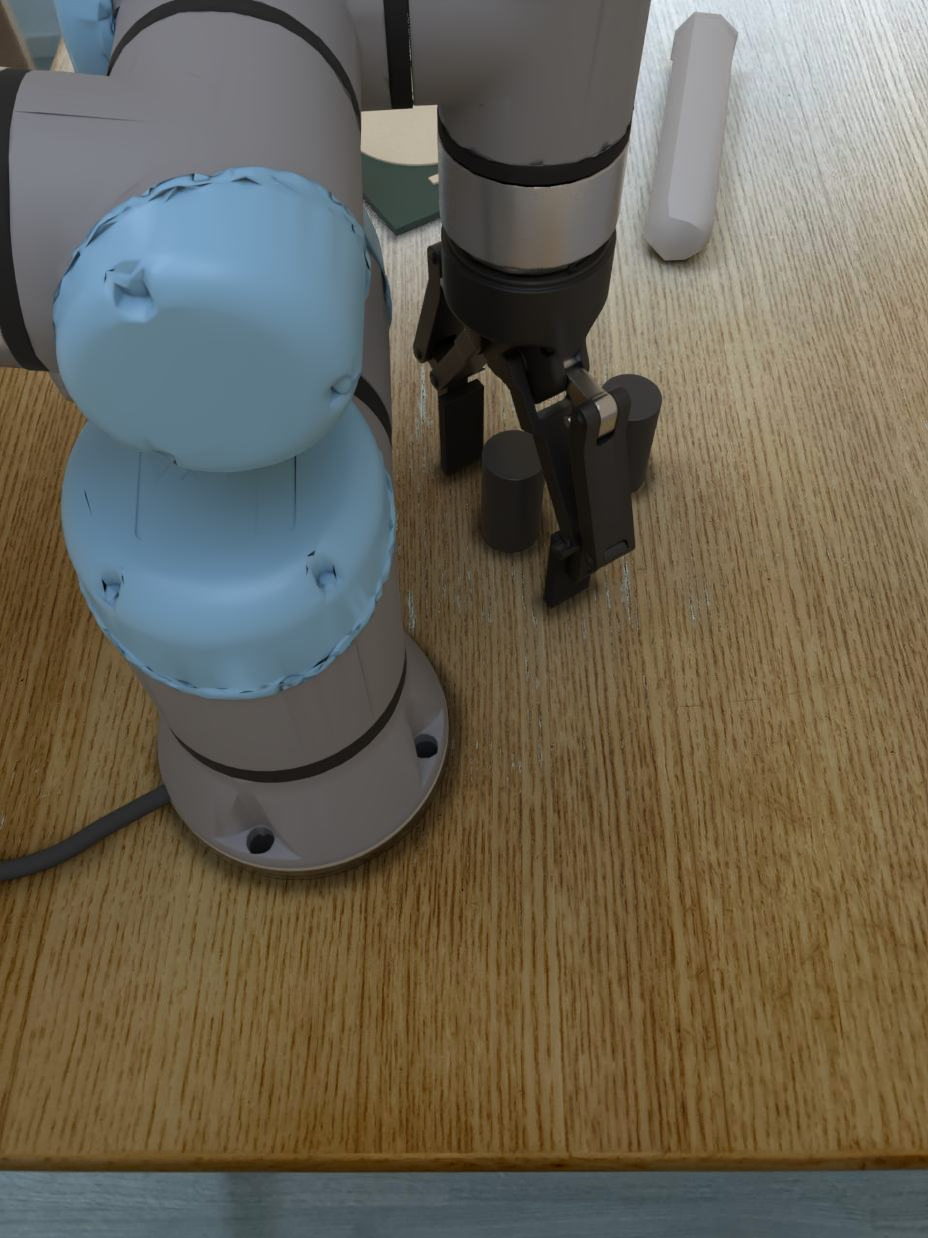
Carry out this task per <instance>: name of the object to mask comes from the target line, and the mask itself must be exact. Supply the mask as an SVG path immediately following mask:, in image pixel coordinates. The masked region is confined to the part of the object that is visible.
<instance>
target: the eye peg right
mask: <svg viewBox="0 0 928 1238" xmlns="http://www.w3.org/2000/svg"><path fill="white" fill-rule="evenodd" d="M618 385H620V386H623V387H624V388H625V389H626V391H627V392H628V394H629V396H630V399H631V409H630V414H629V419H628V423H627V428H626V439H627V450H628V462H629V474H630V485H631V494H633V493H634V492H635V491H637V490H638V489H639V488H641V486H642V484H643V483H644V480H645V476H646V471H647V468H648V463H649V459H650V456H651V452H652V451H651V450H652V447H653V443H654V438H655V434H656V429H657V425H658V421H659V417H660V413H661V408H662V405H663V394H662V392H661V389H660V388H659V386H658V385H657V384H656V383H655V382H654V381H652V380H651V379H649V378H647V377H645V376H644V375H640V374H636V373H623V374H618V375H615V376H613V377H610V378H608V380H606V381H605V382H604V383H603V385H602V386H601V387H602V388H603V390H604V391H608V390H610V389H612V388H614V387H616V386H618Z"/></svg>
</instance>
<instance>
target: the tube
mask: <svg viewBox="0 0 928 1238" xmlns="http://www.w3.org/2000/svg"><path fill="white" fill-rule="evenodd" d="M738 37H739V31H738V30H737V29H736V28H735V27H734V26H733V25H732V24H731V23H730V22H729V21H728V20H727V18H725V17H724V16H723V15H722V14H720V13H712V12H702V11H694V12H692V13H691V14H690V15H689V17H687V18H686V19H685V20H684V21H683V23H681V24H680V25H679V26H678V28H676V29H675V30H674V36H673V41H672V47H671V53H670V57H669V58H670V60H671V62H672V63H671V69H670V76H669V82H668V87H667V93H666V99H665V107H664V113H663V119H662V125H661V132H660V139H659V142H658V143H659V144H658V150H657V157H656V163H655V168H654V175H653V179H652V180H653V182H652V188H651V193H650V200H649V206H648V212H647V218H646V224H645V229H644V238H643V239H644V241H646V242H647V243H648V244H649V246H650V247H651V248H652V249H653V250H654V251H655V252H656V253H657V254H658V255H659V256H660V257H661V258H662V259H663V260H664V261H682V260H683V261H685V260H687V259H689V258H691V257H693V256H694V255H696V254H698V253H700V252H701V251H702V250H703V249H704V248H705V247H706V246H707V245H708V244H709V242H710V240H711V235H712V231H713V227H714V223H715V220H716V218H715V217H716V211H717V210H716V209H717V202H718V201H717V200H718V191H719V182H720V173H721V164H722V155H723V146H724V139H725V129H726V120H727V109H728V101H729V92H730V83H731V75H732V66H733V58H734V54H735V50H736V46H737V41H738Z"/></svg>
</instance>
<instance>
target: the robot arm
mask: <svg viewBox="0 0 928 1238" xmlns="http://www.w3.org/2000/svg"><path fill="white" fill-rule="evenodd" d="M53 4H54V9H55V13H56V17H57V21H58V25H59V29H60V33H61V36H62V40H63V43H64V46H65V49H66V51H67V55H68V56H69V60H70V62H71V65H72V68H73V70H74V71H73V72H72V71H64V70H45V69H28V68H27V69H26V68H25V69H24V68H18V67H9V66H8V67H7V66H0V368H9V369H24V370H27V371H30V372H31V371H32V372H33V371H34V372H47V374H48V375H49V377H50V378H51V380H52V382H53V384H54V385H55V387H56V388H57V389H58V391H59V393H60V394H61V396H62V398H63V400H65V401H67V402H70V403H74V404H75V406H76V407H77V409H78V410H79V412H80V413H81V414H82V415H83V416H84V417H85V418H86V419H87V420H86V422H85V423H84V425H83V427H82V429H81V431H80V432H79V434H78V437H77V438H76V440H75V442H74V444H73V446H72V448H71V451H70V454H69V457H68V459H67V463H66V466H65V470H64V474H63V480H62V485H61V492H60V493H61V494H60V518H61V519H60V520H61V526H62V533H63V538H64V539H63V540H64V543H65V547H66V550H67V554H68V557H69V559H70V562H71V563H72V567H73V568H74V571H75V572H76V575H77V580H78V584H79V590H80V592H81V594H82V596H83V597H84V599H85V601H86V605H87V607H88V609H89V611H90V612H91V614H92V616H94V617H93V618H94V620H95V622H96V624H97V625H98V627H99V628H100V630H101V632H102V633H103V635H104V636H105V637H106V638H107V639H108V640H109V642H111V643H112V644H113V645H114V647H115V649H117V650H118V652H119V653H120V654H121V655H122V656H123V658H124V659H125V661H126V663H127V664H128V666H129V667H130V669H131V670H132V672H133V673H134V675H135V676H136V678H137V680H138V681H139V683H140V684H141V686H142V687H143V689H144V691H145V693H146V695H147V696H148V697H149V699H150V700H151V702H152V703H153V705H154V706H155V708H156V710H157V712H158V713H159V721H158V729H157V758H158V759H157V760H158V767H159V773H160V777H161V781H162V784H161V785H159V786H158V787H157V786H156V787H155V788H154V789H152V790H150V791H148V792H146V793H144V794H142V795H140V796H139V797H137V798H135V799H133V800H130V801H129V802H128V803H126V804H124V805H122V806H120V807H118V808H116V809H114V810H112V811H111V812H108V813H107V814H104V816H101V817H99V818H98V819H96V820H95V821H92V822H91V823H89V824H88V825H87V826H85V827H83V828H82V829H80V830H78V831H76V832H75V833H73V834H72V835H70V836H69V837H66V838H65V839H64V840H61V841H59V842H58V843H55V844H53V845H51V846H48V847H47V848H44V849H42V850H39V851H36V852H33V853H30V854H27V855H23V856H19V857H16V858H10V859H6V860H1V861H0V882H6V881H11V880H15V879H20V878H24V877H27V876H32V875H34V874H37V873H41V872H44V871H47V870H50V869H52V868H53V867H57V866H59V865H61V864H64V863H65V862H67V861H69V860H71V859H73V858H75V857H76V856H78V855H80V854H81V853H84V852H85V851H86V850H88V849H89V848H91V847H93V846H94V845H96V844H98V843H99V842H100V841H103V840H104V839H106V838H108V837H109V836H111V835H113V834H114V833H117V832H118V831H120V830H122V829H124V828H126V827H127V826H129V825H131V824H133V823H135V822H136V821H138V820H140V819H142V818H144V817H146V816H148V815H150V814H151V813H154V812H155V811H158V810H159V809H161V808H163V807H165V806H166V805H168V804H170V803H171V804H172V806H173V809H174V810H175V812H176V813H177V814H178V816H179V817H180V818H181V820H182V821H183V822H184V824H185V825H186V827H187V828H188V830H189V831H190V832H191V833H192V835H193V836H194V837H195V838H196V839H197V840H198V841H199V842H200V843H201V844H202V845H203V846H204V847H206V848H207V849H208V850H209V851H210V852H211V853H213V854H214V855H216V857H219V858H220V859H222V860H224V861H225V862H227V863H229V864H231V865H233V866H235V867H237V868H239V869H242V870H244V871H247V872H249V873H253V874H257V875H260V876H264V877H270V878H275V879H284V880H285V879H286V880H306V879H316V878H324V877H328V876H332V875H337V874H340V873H343V872H347V871H349V870H352V869H354V868H357V867H359V866H362V865H364V864H366V863H368V862H370V861H372V860H374V859H376V858H377V857H379V856H380V855H383V854H384V853H385V852H387V851H388V850H389V849H391V848H392V847H393V846H395V845H396V844H397V843H399V841H401V840H402V839H403V838H405V836H406V835H407V834H408V833H409V832H410V831H412V830H413V828H414V827H415V826H416V825H417V823H418V822H419V821H420V820H421V819H422V817H423V816H424V814H425V813H426V812H427V810H428V809H429V807H430V805H431V804H432V802H433V800H434V799H435V796H436V795H437V792H438V790H439V788H440V785H441V783H442V780H443V777H444V773H445V770H446V767H447V761H448V757H449V747H450V724H449V723H450V721H449V712H448V704H447V699H446V695H445V692H444V689H443V686H442V682H441V680H440V678H439V676H438V674H437V672H436V669H435V667H434V665H433V664H432V663H431V661H430V659H429V658H428V657H427V655H426V654H425V652H424V651H423V650H422V648H420V646H419V645H418V644H417V643H416V642H415V641H414V639H412V637H411V636H410V635H409V634H408V633H407V632H406V631H405V630H404V622H403V621H404V620H403V612H402V611H403V610H402V603H401V592H400V582H399V569H398V555H397V539H396V538H397V536H396V535H397V523H396V521H397V520H396V519H397V517H396V515H397V511H396V506H395V489H394V469H393V468H394V465H393V464H394V463H393V442H392V441H393V409H392V407H393V406H392V379H391V378H392V377H391V375H392V374H391V373H392V371H391V345H390V341H391V340H390V329H391V325H392V321H393V302H392V295H391V293H392V292H391V287H390V283H389V278H388V276H387V274H386V271H385V263H384V257H383V256H384V255H383V251H382V246H381V242H380V239H379V236H378V233H377V230H376V228H375V225H374V224H373V221H372V220H371V217H370V215H369V214H368V212H367V210H366V208H365V207H364V199H363V192H362V167H361V112H364V111H380V110H397V109H413V105H414V106H427V105H437V144H438V180H439V209H440V218H439V219H440V221H439V222H440V223H441V227H440V241H438V242H435V243H433V244H430V245H428V246H427V248H426V260H427V261H426V262H427V274H428V275H427V277H428V279H427V283H426V288H425V292H424V296H423V301H422V305H421V309H420V312H419V313H420V314H419V317H418V321H417V326H416V331H415V335H414V340H413V344H412V350H413V351H412V353H413V355H414V358H415V359H416V360H417V361H418V363H419V364H422V365H423V364H425V363H428V364H429V366H430V368H431V370H430V372H429V379H430V383H431V385H432V387H433V388H434V389H435V390H436V391H437V412H438V426H439V427H438V430H439V451H440V455H439V456H440V469H441V471H443V473H444V474H445V475H446V476H447V477H449V476H450V475H452V474H455V473H456V472H458V471H460V470H462V469H465V468H467V467H469V466H470V465H473V464H474V463H477V462H478V461H482V451H483V447H484V445H485V443H484V441H485V439H484V438H485V437H484V435H485V385H484V384H483V383H482V382H481V380H480V379H479V378H478V377H477V378H475V379H472V380H470V381H469V378H471V377H472V376H475V375H477V374H479V373H481V372H484V371H485V370H486V367H487V368H489V369H490V371H491V372H492V373H493V374H494V375H495V376H496V377H497V378H498V379H499V380H501V382H502V384H504V385H505V386H506V387H507V389H508V390H509V393H510V397H511V400H512V403H513V407H514V410H515V411H514V412H515V414H516V417H517V420H518V424H519V427H520V430H521V431H525V432H527V433H530V434H532V436H533V439H534V443H535V446H536V450H537V453H538V457H539V460H540V464H541V467H542V471H543V474H544V478H545V484H546V488H547V493H548V495H549V498H550V501H551V505H552V509H553V512H554V516H555V520H556V523H557V526H558V530H556V531H555V532H552V533H551V534H550V535H549V536H550V538H549V546H548V555H547V556H548V557H547V563H546V572H545V581H544V582H545V583H544V590H543V600H544V602H546V605H547V606H548V607H549V608H550V609H552V608H554V607H556V606H557V605H560V604H561V603H563V602H565V601H566V600H568V599H570V598H572V597H574V596H576V595H577V594H580V593H581V592H583V591H584V590H587V589H588V588H589V587H590V582H591V576H592V575H593V574H595V573H596V572H598V571H599V570H600V569H601V568H603V567H605V566H607V565H609V564H611V563H613V562H614V561H616V560H618V559H620V558H621V557H624V556H625V555H627V554H629V553H631V552H633V551H634V550H635V549H636V545H637V544H636V534H635V532H636V531H635V521H634V511H633V499H632V493H631V485H630V474H629V462H628V450H627V439H626V428H627V423H628V419H629V414H630V409H631V399H630V396H629V394H628V392H627V391H626V389H625V388H624V387H623V386H620V385H618V386H616V387H614V388H612V389H610V390H608V391H604V390H603V388H602V386H601V385H600V384H599V383H598V382H597V381H596V379H594V377H593V376H592V375H591V374H590V367H591V366H590V365H591V364H590V358H589V353H588V348H587V347H588V346H587V337H588V334H589V332H590V331H591V329H592V327H593V326H594V325H595V322H596V321H597V319H598V317H600V315H601V313H602V311H603V309H604V308H605V306H606V303H607V300H608V297H609V292H610V285H611V280H612V272H613V265H614V258H615V251H616V244H617V224H618V221H619V218H620V211H621V204H622V198H623V190H624V183H625V177H626V176H625V175H626V168H627V161H628V155H629V148H630V141H631V137H630V136H631V132H632V123H633V116H634V111H635V101H636V94H637V89H638V82H639V76H640V70H641V64H642V58H643V52H644V46H645V40H646V35H647V27H648V21H649V17H650V11H651V4H652V0H53ZM411 71H412V75H411ZM412 87H413V92H412ZM485 366H486V367H485ZM564 392H565V395H564V397H563V398H562V399H560V400H558V401H557V402H554V403H551V405H549V406H546V407H544V408H542V409H540V410H538V411H537V407H536V405H539V404H542V403H544V402H546V401H548V400H550V399H552V398H554V397H556V396H558V395H560V394H563V393H564Z"/></svg>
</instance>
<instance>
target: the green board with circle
mask: <svg viewBox="0 0 928 1238" xmlns="http://www.w3.org/2000/svg"><path fill="white" fill-rule="evenodd" d="M411 75H412V71H411ZM412 92H413V87H412ZM361 167H362V192H363V201H365V202H366V203H367V204H368V206H369V207H370V208H371V209H372V210H373V211H374V212H375V214H376V215H377V216H378V218H380V219H381V221H382V222H384V223H385V225H386V226H387V227H388V228H389V229H390V230H391V231H392V233H393V234H394V235H395V236H398V235H400V234H403V233H405V232H408V231H410V230H413V229H415V228H418V227H420V226H422V225H425V224H427V223H430V222H433V221H435V220H437V219H440V209H439V180H438V144H437V105H427V106H414V105H413V109H397V110H380V111H364V112H361Z"/></svg>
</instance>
